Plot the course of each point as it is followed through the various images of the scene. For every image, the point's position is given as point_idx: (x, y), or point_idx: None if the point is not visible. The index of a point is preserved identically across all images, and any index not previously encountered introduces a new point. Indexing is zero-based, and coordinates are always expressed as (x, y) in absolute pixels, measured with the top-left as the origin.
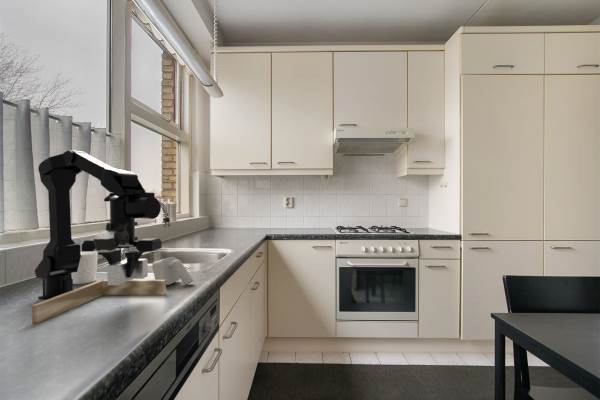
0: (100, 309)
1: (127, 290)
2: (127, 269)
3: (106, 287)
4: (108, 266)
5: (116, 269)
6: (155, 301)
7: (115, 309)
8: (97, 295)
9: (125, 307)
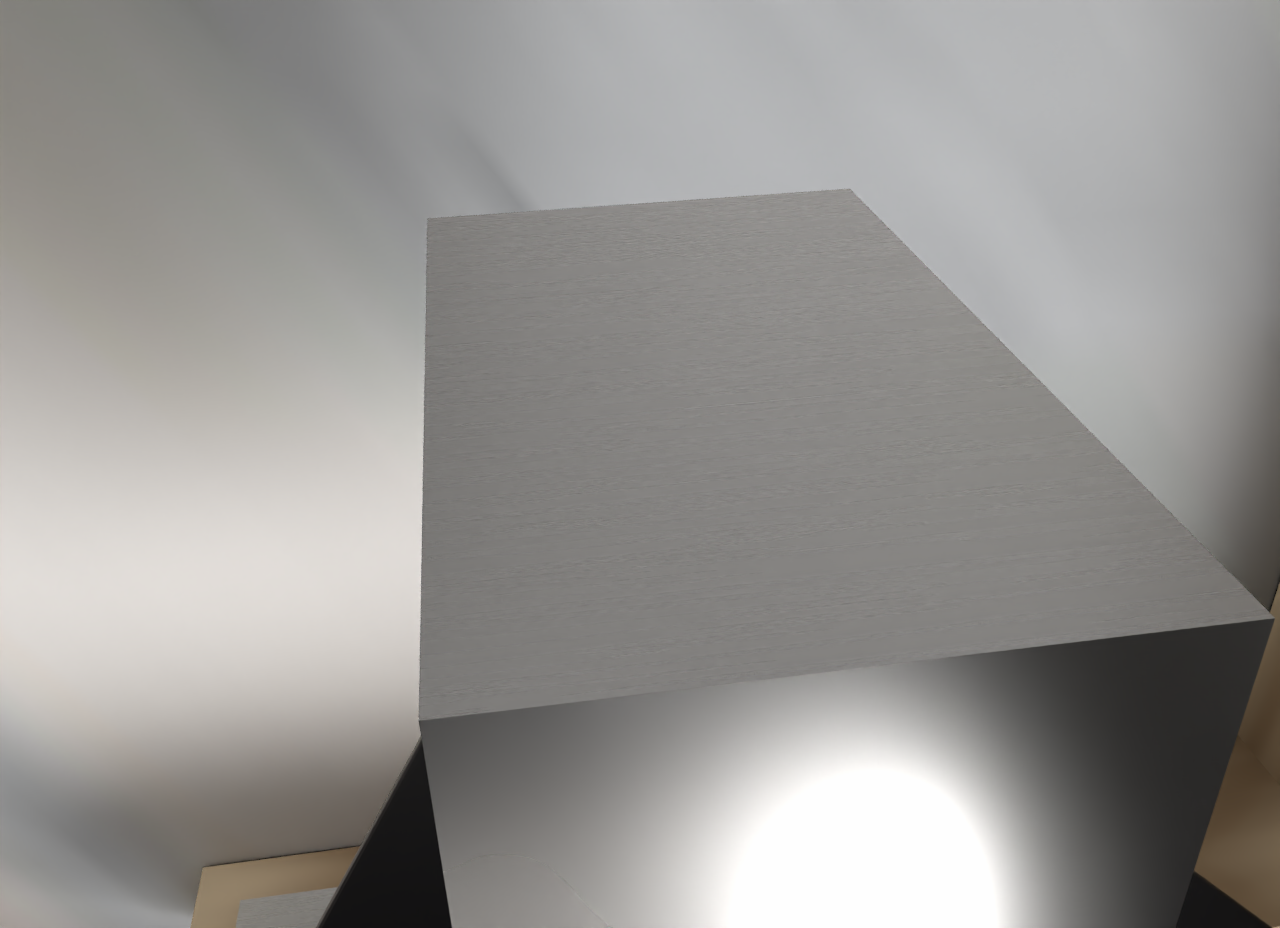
0: (857, 42)
1: None
2: (435, 924)
3: (1241, 825)
4: (1160, 583)
5: (581, 524)
6: (46, 567)
7: (533, 61)
8: (1277, 648)
9: (403, 196)
